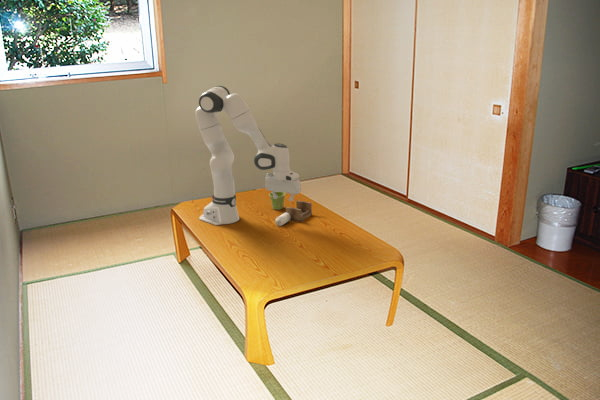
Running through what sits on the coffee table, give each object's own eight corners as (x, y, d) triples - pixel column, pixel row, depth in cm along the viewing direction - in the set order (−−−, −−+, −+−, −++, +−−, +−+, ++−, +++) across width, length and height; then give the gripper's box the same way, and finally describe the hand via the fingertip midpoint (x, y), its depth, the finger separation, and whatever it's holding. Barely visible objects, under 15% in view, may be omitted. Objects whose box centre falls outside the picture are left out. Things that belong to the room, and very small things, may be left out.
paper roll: (283, 227, 280) (283, 218, 278) (275, 225, 282) (274, 216, 280) (291, 221, 287) (291, 213, 285) (283, 220, 289) (283, 211, 287)
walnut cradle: (286, 219, 290) (285, 207, 287) (297, 212, 300) (297, 200, 298) (300, 222, 285) (300, 210, 283) (311, 214, 296) (311, 202, 294)
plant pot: (267, 207, 309) (266, 193, 306) (282, 204, 313) (281, 190, 310) (273, 212, 301) (272, 197, 298) (288, 209, 305) (288, 195, 302)
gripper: (261, 174, 278) (263, 199, 282) (295, 178, 268) (297, 204, 273) (268, 171, 283) (269, 195, 287) (301, 174, 273) (302, 200, 278)
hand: (283, 199), depth 280 cm, fingers open, 8 cm apart
